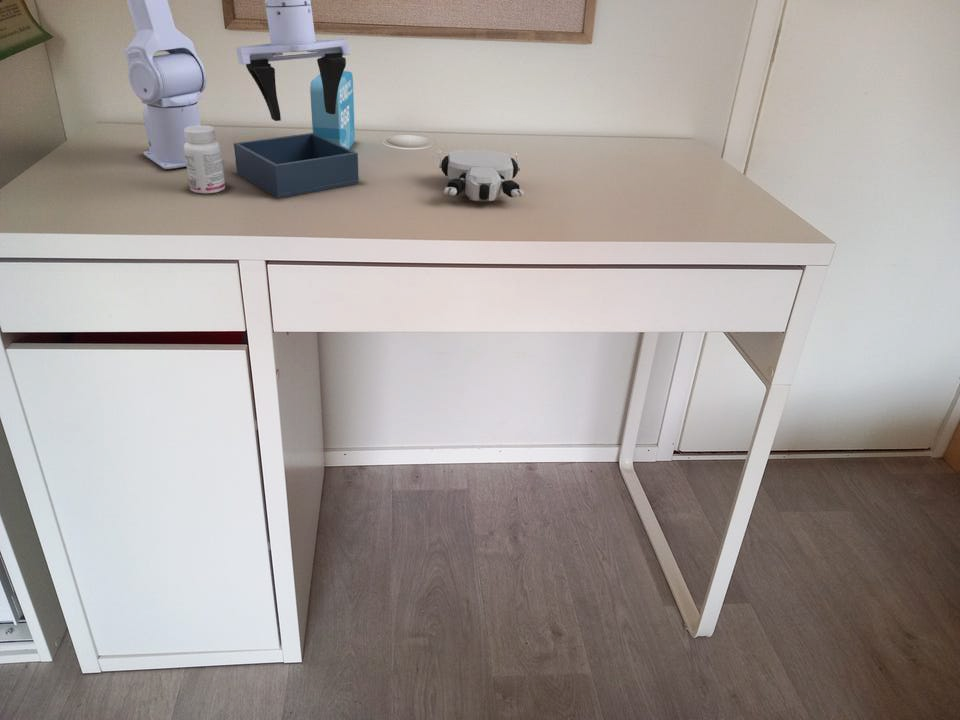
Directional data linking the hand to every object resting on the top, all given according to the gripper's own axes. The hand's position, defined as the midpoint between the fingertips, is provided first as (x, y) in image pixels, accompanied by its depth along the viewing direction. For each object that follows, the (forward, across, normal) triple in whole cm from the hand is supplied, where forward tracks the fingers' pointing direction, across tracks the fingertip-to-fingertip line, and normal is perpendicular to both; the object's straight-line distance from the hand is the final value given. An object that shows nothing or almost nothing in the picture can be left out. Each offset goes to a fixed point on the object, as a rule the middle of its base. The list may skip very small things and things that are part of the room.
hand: (304, 116), depth 100 cm
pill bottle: (+10, -13, +7) cm, 18 cm away
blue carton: (+10, +11, +21) cm, 25 cm away
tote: (+10, 0, +7) cm, 12 cm away
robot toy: (+13, +23, -8) cm, 27 cm away
